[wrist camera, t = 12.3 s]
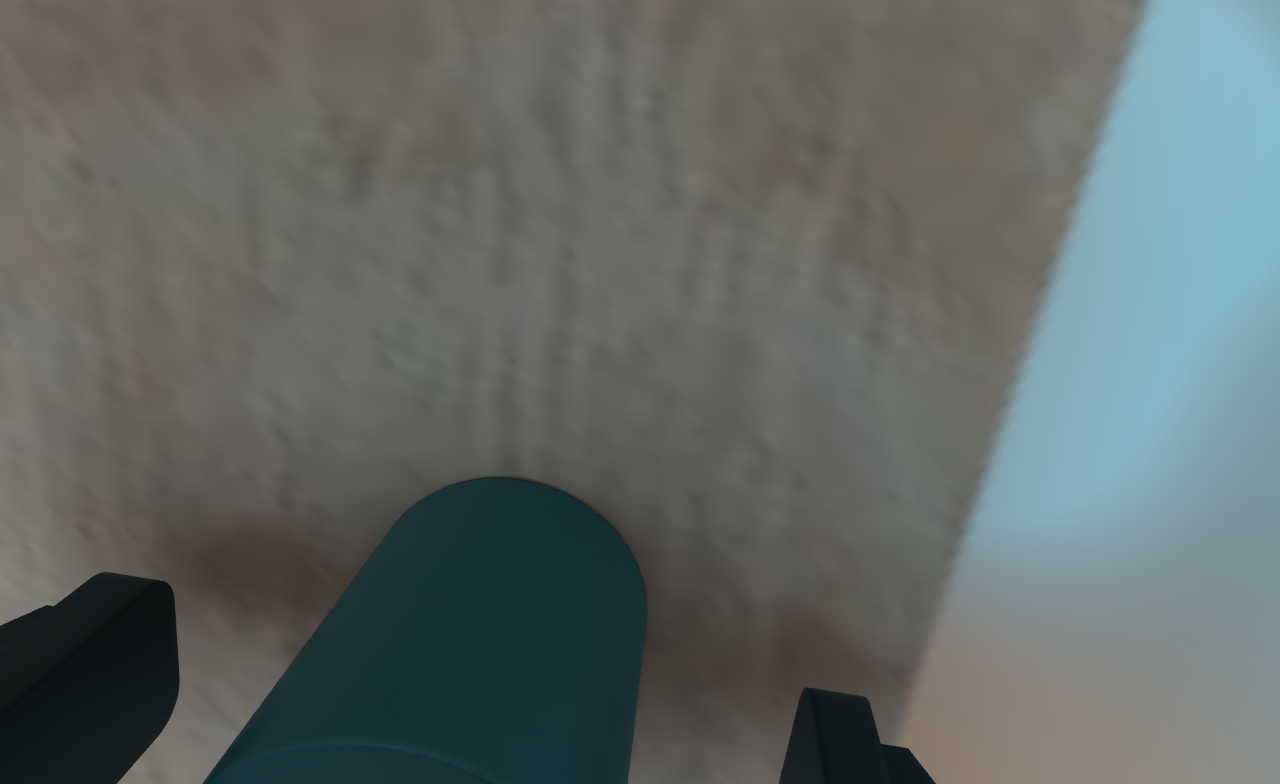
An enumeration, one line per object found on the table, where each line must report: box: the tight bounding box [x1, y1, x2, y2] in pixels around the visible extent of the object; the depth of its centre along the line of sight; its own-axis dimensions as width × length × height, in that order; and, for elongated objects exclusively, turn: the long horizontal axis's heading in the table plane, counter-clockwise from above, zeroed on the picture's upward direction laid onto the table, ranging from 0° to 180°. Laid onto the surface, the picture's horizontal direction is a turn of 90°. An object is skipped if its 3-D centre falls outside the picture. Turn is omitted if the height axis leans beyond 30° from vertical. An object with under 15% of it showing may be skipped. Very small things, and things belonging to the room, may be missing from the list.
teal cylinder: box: [202, 478, 647, 784], centre depth 10 cm, size 4×4×5 cm
